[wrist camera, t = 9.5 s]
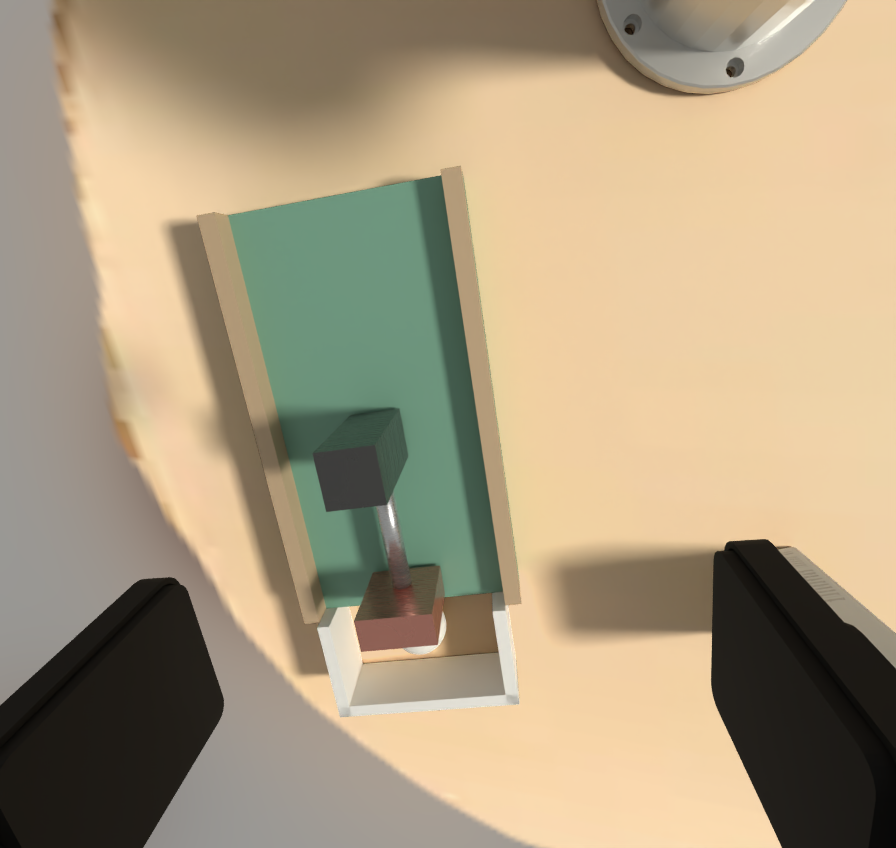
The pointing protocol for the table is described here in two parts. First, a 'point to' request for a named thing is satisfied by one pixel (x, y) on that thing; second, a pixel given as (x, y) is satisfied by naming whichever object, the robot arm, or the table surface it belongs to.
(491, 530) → the pitch board
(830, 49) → the table surface
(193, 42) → the table surface
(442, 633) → the ball
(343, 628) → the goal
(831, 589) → the skincare box
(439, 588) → the kicker rod
